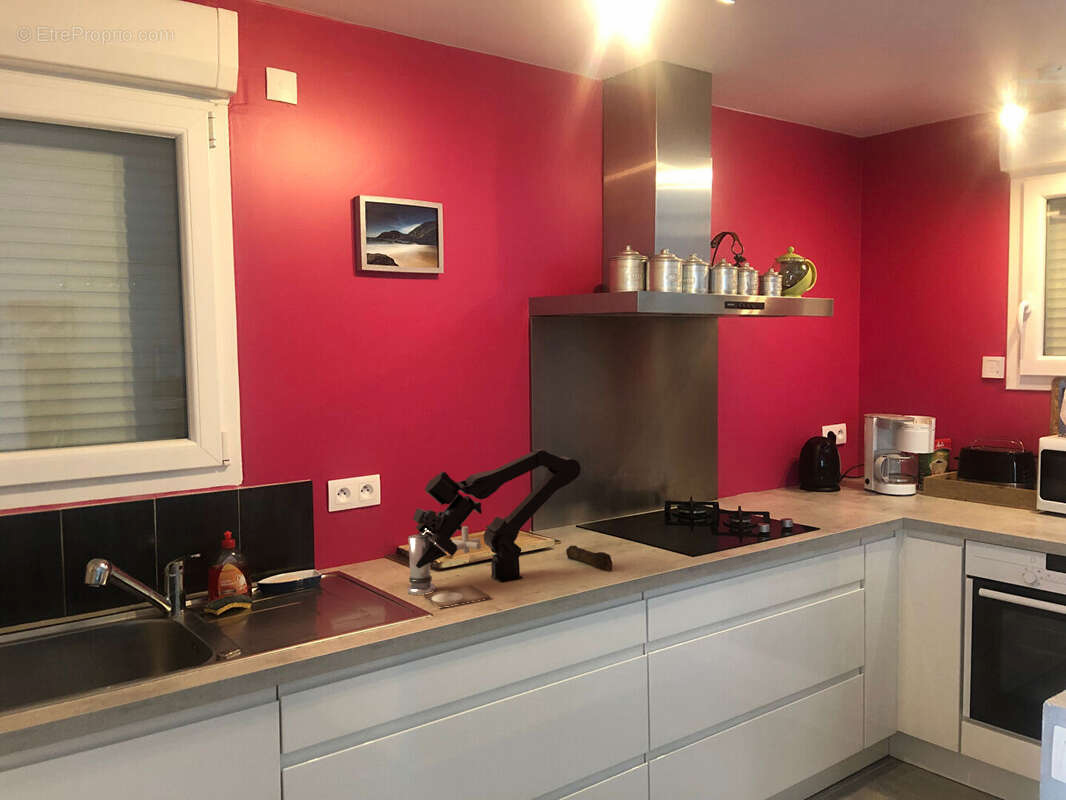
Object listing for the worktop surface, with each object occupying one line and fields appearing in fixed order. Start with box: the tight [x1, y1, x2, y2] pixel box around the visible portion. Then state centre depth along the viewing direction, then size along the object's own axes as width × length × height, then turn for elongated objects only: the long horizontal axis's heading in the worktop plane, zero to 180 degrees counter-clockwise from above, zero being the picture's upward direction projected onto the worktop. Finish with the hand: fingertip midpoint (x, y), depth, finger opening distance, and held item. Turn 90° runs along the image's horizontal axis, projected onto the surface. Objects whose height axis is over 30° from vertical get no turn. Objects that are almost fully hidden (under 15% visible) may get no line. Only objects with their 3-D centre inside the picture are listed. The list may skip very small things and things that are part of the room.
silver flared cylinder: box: [407, 533, 436, 595], centre depth 216 cm, size 7×7×14 cm
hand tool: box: [565, 544, 613, 572], centre depth 234 cm, size 19×4×5 cm, turn 29°
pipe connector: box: [451, 526, 482, 554], centre depth 243 cm, size 10×10×10 cm
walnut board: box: [422, 585, 491, 607], centre depth 209 cm, size 13×11×1 cm
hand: (414, 564), depth 215 cm, fingers closed on silver flared cylinder, 5 cm apart
